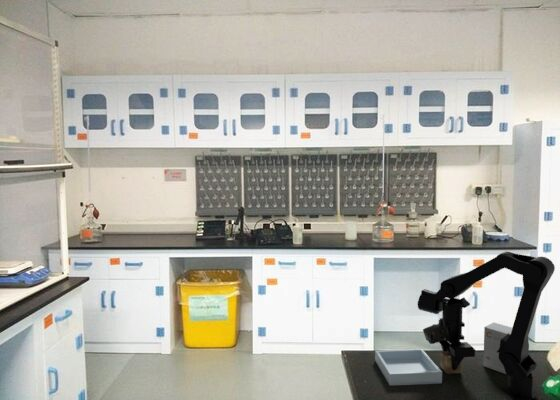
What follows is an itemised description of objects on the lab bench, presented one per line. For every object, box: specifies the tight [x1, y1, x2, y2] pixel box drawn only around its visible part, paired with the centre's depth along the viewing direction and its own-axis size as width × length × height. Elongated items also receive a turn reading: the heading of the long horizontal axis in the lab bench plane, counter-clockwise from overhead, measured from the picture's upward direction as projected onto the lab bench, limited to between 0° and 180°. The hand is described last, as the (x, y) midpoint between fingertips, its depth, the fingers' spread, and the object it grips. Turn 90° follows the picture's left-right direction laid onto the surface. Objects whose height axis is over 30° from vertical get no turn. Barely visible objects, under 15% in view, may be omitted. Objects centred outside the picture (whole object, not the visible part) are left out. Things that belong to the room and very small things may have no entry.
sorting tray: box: [374, 348, 443, 386], centre depth 137 cm, size 16×16×4 cm
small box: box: [482, 322, 513, 375], centre depth 138 cm, size 8×6×13 cm
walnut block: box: [440, 350, 462, 375], centre depth 138 cm, size 4×4×5 cm
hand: (450, 366), depth 138 cm, fingers closed on walnut block, 4 cm apart
